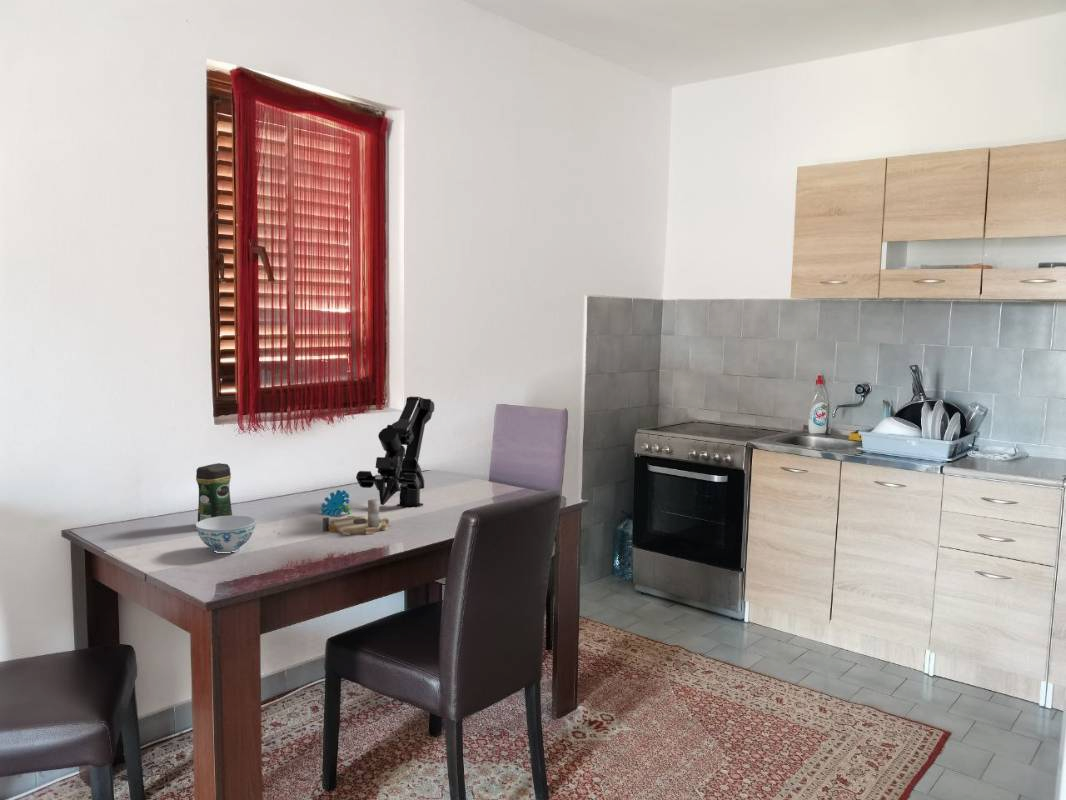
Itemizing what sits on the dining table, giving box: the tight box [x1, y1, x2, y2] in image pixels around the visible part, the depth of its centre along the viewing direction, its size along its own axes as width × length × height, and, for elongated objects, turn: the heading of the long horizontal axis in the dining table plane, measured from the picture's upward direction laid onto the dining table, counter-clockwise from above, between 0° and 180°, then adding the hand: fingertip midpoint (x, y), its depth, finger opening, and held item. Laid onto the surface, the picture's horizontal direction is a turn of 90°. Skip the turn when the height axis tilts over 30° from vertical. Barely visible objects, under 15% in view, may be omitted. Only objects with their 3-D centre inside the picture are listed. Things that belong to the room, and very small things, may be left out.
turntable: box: [329, 498, 390, 536], centre depth 241 cm, size 17×17×9 cm
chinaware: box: [195, 515, 257, 552], centre depth 217 cm, size 15×15×8 cm
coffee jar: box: [195, 462, 233, 522], centre depth 242 cm, size 10×8×19 cm
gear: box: [320, 489, 352, 517], centre depth 259 cm, size 11×6×10 cm
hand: (381, 504), depth 243 cm, fingers closed
